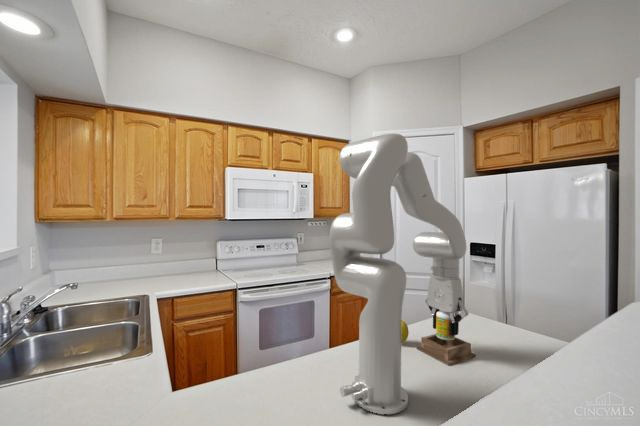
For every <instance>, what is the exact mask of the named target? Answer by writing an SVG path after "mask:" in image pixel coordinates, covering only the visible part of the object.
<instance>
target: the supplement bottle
mask: <svg viewBox="0 0 640 426" xmlns="http://www.w3.org/2000/svg"><path fill="white" fill-rule="evenodd" d="M454 316H455V314H454ZM449 322H451V318H450V314H449V313H448V312H445V311H442V310H439V311H438V312H437V313H436V329H435V334H436V336H437V337H438V338H440V339H442V340H454V339H455V337H456V335H454V336H451V335H449Z"/></svg>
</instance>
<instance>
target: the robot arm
mask: <svg viewBox="0 0 640 426" xmlns="http://www.w3.org/2000/svg"><path fill="white" fill-rule="evenodd" d="M408 147H409V145H408V141H407V139H406V137H405V136H403V135H402V134H400V133H385V134H380V135H376V136H373V137H372V136H371V137H368V138H365V139H361V140H358V141H352V142H350V143H348V144H346V145H345V146H343V148H342V149H341V151H340V153H339V159H338V161H339V164H340V167H341V169H342V170H343V173H345V174H346V176H348V177H350V178H352V179H355V180H354V182H353V186H352V192H351V193H352V194H351V196H352V197H351V198H352V200H351V201H352V211H353V212H345V213H341V214H339V215H338V216H336V217H335V218H334V219H333V221H332V223H331V226H330V229H329V236H328V237H329V239H328V240H329V245H330V253H331V254H330V256H331V260H332V267H333V268H332V269H333V275H334V280H335V282H336V285H337V286H338V288H339V289H340V290H341V291H343V292H344V293H347V294H350V295H354V296H358V297H362V298H363V299H364V298H365V299H367V302H366V304H365V305H364V307H363V309H362V310H361V312H360V315H359V319H358V321H359V322H358V327H359V328H358V329H359V333H358V375H355V376H354V381H352V383H351V384H348V385H345V386H340V388H339V393H340V395H341V397H342V398H344V397H348V396H351V399H352V400H353V401H354V402H356V403H355V404H356V405H357V406H359V407H360V408H361V407H362V409H363V410H365V411H367V412H369V411H370V413H372V412H373V413H372V414H376V413H377V414H378V415H384V414H387V415H395V414H398V413H401V412H402V411H405V409H406V408H407V407H408V405H409V394H408V392H407V391H406V389H405V388H404V387H403V386H402V343H401V320H403V319H402V315H403V314H402V312H403V303H404V298H405V292H406V288H407V287H406V286H407V275H406V274H407V272H406V271H405V269H404V267H403V266H402V265H400V263H399V262H396V261H394V260H391V259H386V258H381V257H372V256H361V254H365V255H384V254H387V253H389V252H391V250H392V249H393V248H394V244H395V227H394V226H395V225H394V220H393V211H392V210H393V207H392V200H391V190H392V187H394V188H395V191H396V192H397V195H398V198H399V200H400V203H401V205H402V208H403V212H404V213H406V215H409V216H410V217H412V218H414V219H417V220H420V221H422V222H425V223H427V224H430V225H431V226H434V227H436V229H439V230H440V231H441V232H438V231H437V232H432V231H423V232H420V233H418V234H416V236H415V237H414V239H413V242H412V247H413V251H414V252H415V253H416V255H418V256H420V257H422V258H423V257H424V258H431V259H432V266H430V270H431V271H432V274H430V277H429V281H428V288H427V298H426V300H425V303H426V306H428V309H429V310H430V315H432V328H433V329H434V330H436V313H437V312H438V311H439V310H442V311H445V312H448V313H449V314H450V318H451V322H449V335H451V336H454V335H455V336H457V335H459V326H460V324H459V323H460V322H461V321H462V320H463V319H464V318H465V317H466V318H467V316H468V315H469V311H468V310H467V308H466V307H465V305H464V292H463V286H462V285H463V284H462V281H461V278H460V260H461V259H462V258H463V257H465V254H466V253H467V240H466V236H465V233H464V229H463V226H462V224H461V222H460V220H459V218H458V217H456V215H455V214H454V213H453V212H452V211H450V210H449V209H448V208H447V207H445V206H444V205H443V204H442V203H440V202H438V201H437V200H436V199H435V196H434V193H433V190H432V187H431V185H430V182H429V178H428V176H427V172H426V170H425V169H426V168H425V167H424V164H423V161H422V159H421V158H420V156H419V155H418V154H416V153H414V152H408V151H409V148H408ZM454 315H455V316H454Z"/></svg>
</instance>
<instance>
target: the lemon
mask: <svg viewBox="0 0 640 426" xmlns="http://www.w3.org/2000/svg"><path fill="white" fill-rule="evenodd" d="M408 337H409V327H408V325H407V323H406V322H405V321H404V320H403V319H401V344H402V343H403V342H405V341H407V340H408Z"/></svg>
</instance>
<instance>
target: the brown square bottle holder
mask: <svg viewBox="0 0 640 426" xmlns="http://www.w3.org/2000/svg"><path fill="white" fill-rule="evenodd" d="M420 341H421V342H420V343H421V345H416V350H418V351H420V352H421V353H424V354H426V355H427V356H430V357H431V358H433V359H435V360H436V361H439V362H440V363H442V364H444V365H446V366H448V367H449V366H452V365H455V364H459V363H462V362H465V361H469V360H471V359H475V358H477V354H475V353H474V352H472V343H470V342H467V341H465V340H463V339H461V338H458V337H456V336H455V339H454V340H442V339H440V338H438V337H437V336H436V333H434V334H430V335H425V336H421V340H420Z"/></svg>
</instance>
